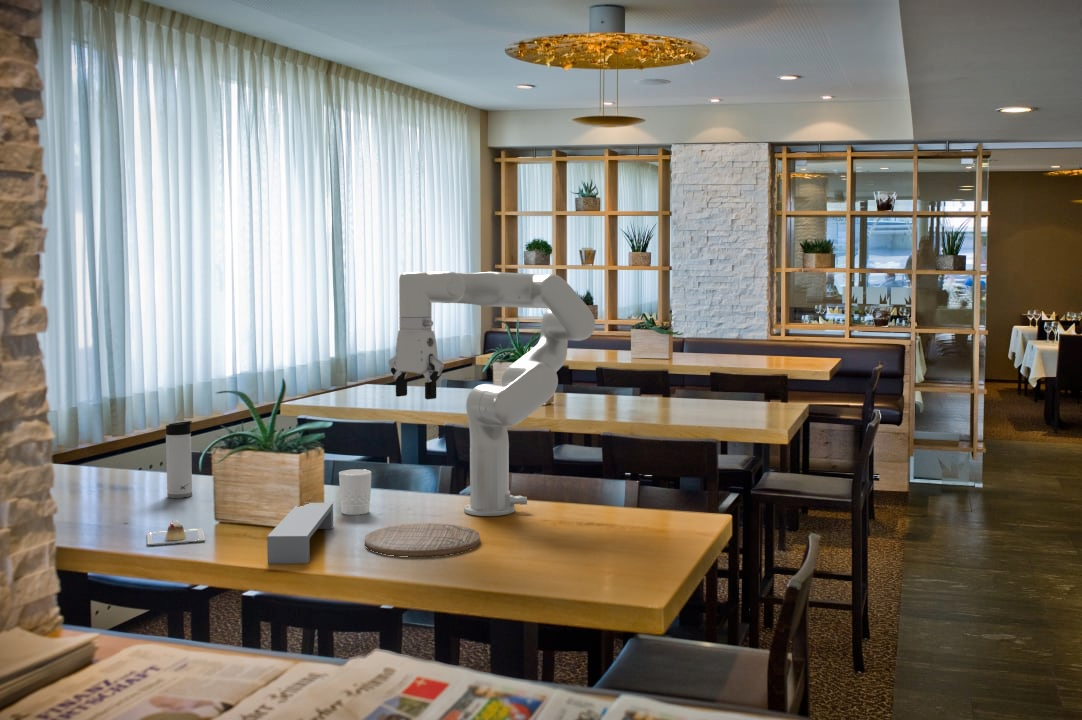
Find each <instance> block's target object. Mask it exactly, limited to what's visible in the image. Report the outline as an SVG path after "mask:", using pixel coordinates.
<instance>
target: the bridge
mask: <svg viewBox="0 0 1082 720" xmlns="http://www.w3.org/2000/svg"><path fill="white" fill-rule="evenodd" d="M308 503H309V504H306V505H304V506H300V507H297V506H296V505H295V506H294V507H293V508H292V509H291V510H290V511H289V512H288V514H286V515H285V517H284V518H283V519H282V520H281V521H280V522H279V523H278V524H277V525H276V526H275V527H274V528H273V529H272V531H270V532H269V534H268V535H266V538H267V541H266V542H267V543H266V547H267V564H270V565H271V564H308V563H309V562H310V560H311V558H310V553H311V552H310V551H311V550H310V539H311V537H312V536H313V535H314V533H315V532H316V531H317V530H332V529H333V528H334V502H308Z"/></svg>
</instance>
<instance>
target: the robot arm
mask: <svg viewBox="0 0 1082 720" xmlns="http://www.w3.org/2000/svg"><path fill="white" fill-rule="evenodd" d="M398 278H399V279H398V281H399V282H398V285H399V286H398V290H399V291H398V295H399V300H398V303H399V304H398V305H399V306H398V307H399V314H398V315H399V321H398V322H399V330H398V331H397V338H396V344H395V345H396V346H395V356H393V357H391V358H390V359H388V364H389V368H390V372H391V374H392V376H393V379H394V381H395V397H406V396H408V379H407V378H406V377H407V375H408V374H417V375H418V374H422V375H423V377H424V379H425V380H426V382H424V399H425V400H435V399H437V383H438V382H439V379H440V377H441V376H442V372H443V370H444V367H445V364H444V363H443V362H442V361H441V360H440V359H439V358H438V357H439V355H438V346H437V339H436V333H435V331H434V330H432V327H433V326H434V321H433V318H432V314H433V312H432V305H433V303H435V304H436V303H440V304H466V305H476V306H481V307H482V306H483V307H493V308H495V307H496V308H497V307H498V308H501V307H503V308H527V309H529V308H530V309H538V308H539V309H547V310H546V311H545V312H544V314H543V316H542V318H541V324H540V336H539V339H538V341H537V343H536V345H534V347H532V348H531V349H530V350H529V351H527V352H526V353H524V354H523V355H522V356H521V357H520V358H518V359H517V360H516V361H514V362H513V363H511V364H510V365H509V366H508V367H507V368H506V369H505V370H504V371H503V374H502V375H501V385H499V384H492V383H482V384H479V385H477V386H474V388H472V389H471V391H469V394H468V395H467V398H466V404H465V406H466V407H465V408H466V415H467V416H466V417H467V420H468V429H469V483H470V484H469V492H470V493H469V495H470V496H469V503H468V504H466V505H464V507H463V512H464V513H465V514H467V515H472V516H476V517H477V516H479V517H499V516H506V515H510V514H512V513H515V511H516V506H515V505H521V506H522V505H528V497H527V496H522V495H512V494H511V490H510V489H509V486H510V485H509V483H510V481H509V480H510V477H509V476H510V475H509V474H510V473H509V471H510V470H509V468H510V467H509V464H510V461H509V455H510V454H509V452H510V451H509V450H510V449H509V448H510V442H509V433H508V429H507V428H509V427H513V426H516V425H518V424H520V423H521V422H523V421H524V420H526V419H527V418H528V417H530V416H531V415H532V414H533V413H534V412H536V411H537V410H538V409H540V408H541V407H542V406H544V404H546V403H547V402H548V401H549V400H551V398H552V397H553V396H554V394H555V393H556V390H557V387H558V384H559V378H558V377H559V376H558V374H557V372H558V371H559V370H560V369H561V368H562V367H563V366H564V365H565V363H566V359H567V353H568V352H567V351H568V343H569V342H568V341H576V342H577V341H578V342H581V341H584V340H587V339H588V338H590V337H591V336H592V335H593V333H594V330H595V327H596V320H595V316H594V314H593V312H592V310H591V309H590V308H589V306H588V305H587V304H586V302H584V300H583V299H582V298H581V297H580V296H579V294H578V293H576V291H575V290H574V288H573V287H572V286H571V285H570V284H569V283H568V282H567V281H566V280H564V279H563V278H562V277H561V276H560V275H557V274H553V273H548V274H546V273H545V274H544V273H543V274H542V273H541V274H539V273H523V272H522V273H520V272H518V273H516V272H503V271H501V272H500V271H485V272H484V271H482V272H466V273H465V272H455V271H449V270H448V271H444V270H442V271H439V270H438V271H437V270H435V271H434V270H433V271H427V272H423V271H410V272H409V271H407V272H401V274H400V275H399V277H398Z"/></svg>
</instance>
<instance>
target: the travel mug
mask: <svg viewBox="0 0 1082 720" xmlns="http://www.w3.org/2000/svg"><path fill="white" fill-rule="evenodd" d="M192 423H193V422H192V420H188V421H180V422H173V423H168V425H167V424H166V425H165V431H166V432H165V450H166V452H165V454H166V455H165V456H166V459H165V460H166V489H167V493H166V494H167V496H166V497H167V498H169V497H170V498H169V499H174V498H179V499H184V498H183V497H187V498H190V497H189V496H193V474H192V469H193V468H192V467H193V466H192V465H193V464H192V436H191V435H192V433H191V425H192Z"/></svg>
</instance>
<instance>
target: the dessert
mask: <svg viewBox="0 0 1082 720" xmlns="http://www.w3.org/2000/svg"><path fill="white" fill-rule="evenodd" d="M192 531H194V532H192ZM195 531H198V534H197V536H198V535H199V539H194V540H193V539H192V540H191V539H190V540H185V539H184V538H186V539H187V535H186V533H185V532H192V533H196V532H195ZM166 533H167V534H166ZM151 534H165V538H164V539H166V540H165V541H168V540H178V541H168V542H155V543H154V542H153V543H152V535H151ZM180 539H183V540H180ZM204 541H206V536H205V533H204V529H203V527H202V528H201V527H200V528H199V527H198V528H187V529H184V526H183V525H182V524H180V522H179V520H177V519H175V520H174V522H171V523H170V524H169V526H168V527H167V530H161V531H160V530H159V531H147V532H146V542H147V544H146V545H148V546H151V545H154V546H163V545H165V544H167V545H176V544H175V543H180V544H190V543H189V542H193V543H201V542H204Z"/></svg>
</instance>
